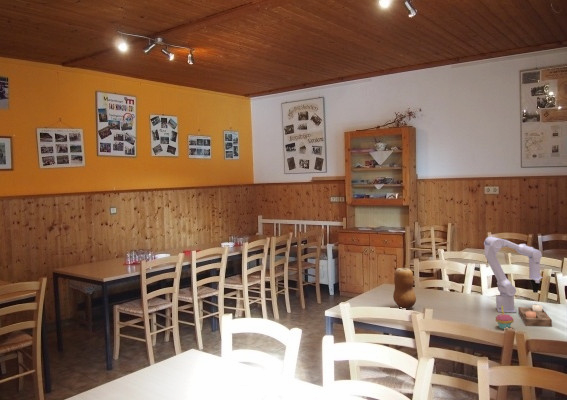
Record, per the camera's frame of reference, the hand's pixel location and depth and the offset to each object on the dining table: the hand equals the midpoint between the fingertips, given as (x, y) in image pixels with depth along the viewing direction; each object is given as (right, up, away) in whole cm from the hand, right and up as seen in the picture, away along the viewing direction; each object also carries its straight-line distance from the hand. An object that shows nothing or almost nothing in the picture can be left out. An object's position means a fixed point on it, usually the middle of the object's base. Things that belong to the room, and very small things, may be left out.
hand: (535, 292), depth 274 cm
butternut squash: (-72, -13, +15) cm, 75 cm away
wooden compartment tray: (-11, -11, -19) cm, 24 cm away
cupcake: (-32, -13, -29) cm, 45 cm away
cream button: (-7, -9, -15) cm, 19 cm away
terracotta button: (-15, -11, -23) cm, 29 cm away
